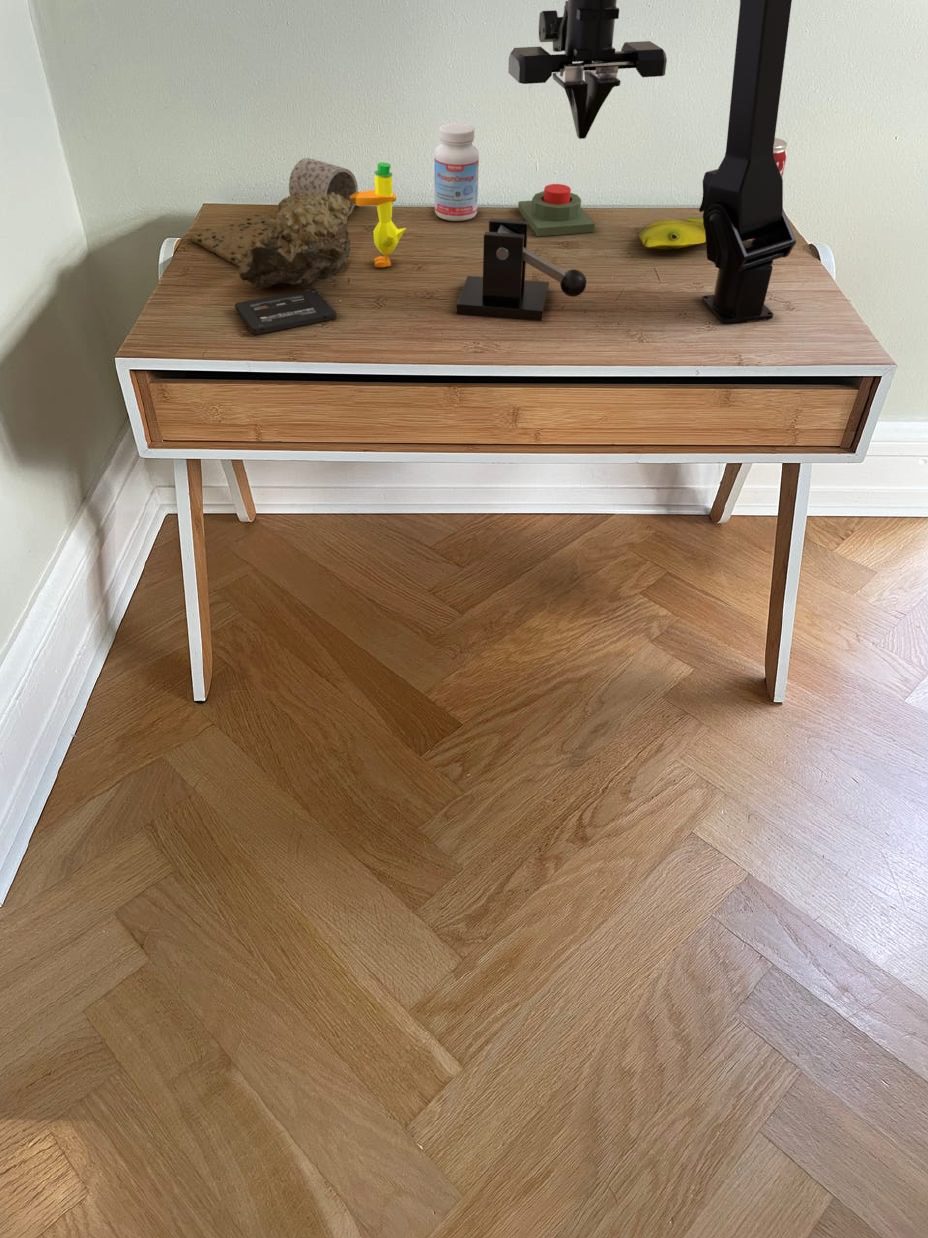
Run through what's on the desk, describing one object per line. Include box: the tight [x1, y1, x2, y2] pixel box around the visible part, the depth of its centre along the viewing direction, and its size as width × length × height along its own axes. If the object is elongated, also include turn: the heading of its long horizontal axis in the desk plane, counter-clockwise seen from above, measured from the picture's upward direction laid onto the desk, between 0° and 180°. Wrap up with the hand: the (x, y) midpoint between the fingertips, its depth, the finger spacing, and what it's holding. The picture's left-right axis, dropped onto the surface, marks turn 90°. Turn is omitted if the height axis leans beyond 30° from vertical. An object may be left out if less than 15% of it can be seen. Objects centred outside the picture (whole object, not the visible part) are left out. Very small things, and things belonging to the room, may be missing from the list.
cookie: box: [191, 213, 276, 268], centre depth 124 cm, size 12×12×1 cm
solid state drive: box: [234, 288, 337, 335], centre depth 109 cm, size 7×10×1 cm
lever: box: [498, 225, 587, 298], centre depth 109 cm, size 12×3×3 cm, turn 81°
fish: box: [638, 216, 706, 251], centre depth 126 cm, size 3×16×10 cm
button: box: [543, 183, 572, 205], centre depth 129 cm, size 4×4×2 cm
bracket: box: [456, 218, 550, 322], centre depth 109 cm, size 10×8×9 cm
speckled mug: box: [288, 157, 359, 218], centre depth 131 cm, size 10×7×7 cm
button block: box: [517, 190, 595, 237], centre depth 130 cm, size 10×8×3 cm
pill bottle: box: [433, 122, 480, 222], centre depth 129 cm, size 6×6×11 cm
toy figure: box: [350, 161, 407, 268], centre depth 116 cm, size 7×4×12 cm, turn 102°
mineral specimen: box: [234, 192, 352, 290], centre depth 113 cm, size 14×13×10 cm
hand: (581, 137), depth 122 cm, fingers closed
